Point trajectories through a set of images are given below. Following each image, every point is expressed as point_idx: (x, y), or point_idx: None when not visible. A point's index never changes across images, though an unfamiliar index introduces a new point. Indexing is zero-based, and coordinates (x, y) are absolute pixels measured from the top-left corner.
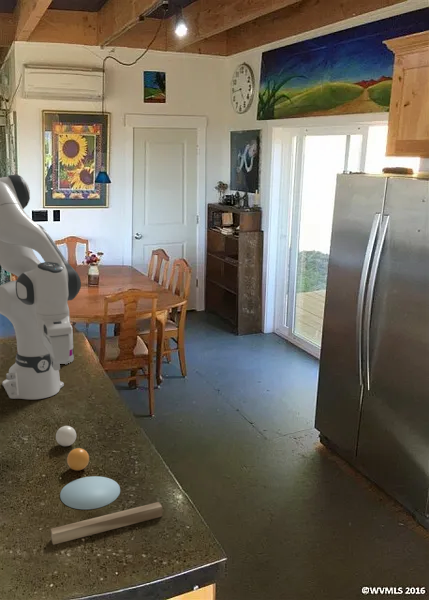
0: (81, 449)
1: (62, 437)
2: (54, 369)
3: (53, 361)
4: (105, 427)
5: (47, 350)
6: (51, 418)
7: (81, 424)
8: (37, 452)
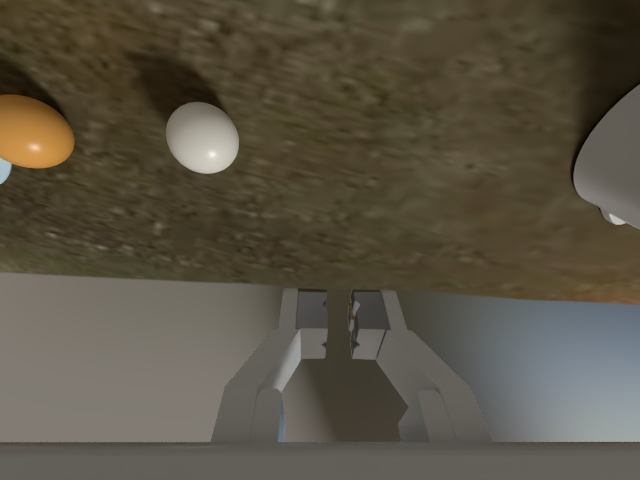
0: (5, 156)
1: (168, 123)
2: (283, 294)
3: (243, 369)
4: (288, 240)
5: (449, 460)
6: (420, 131)
7: (331, 198)
8: (178, 13)
